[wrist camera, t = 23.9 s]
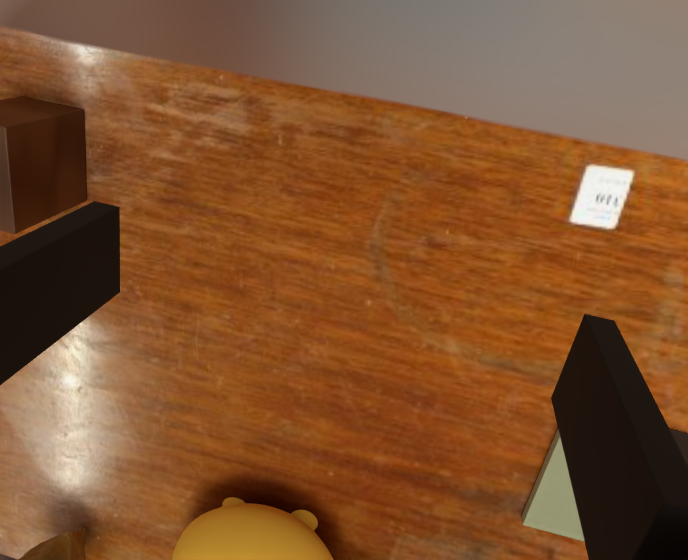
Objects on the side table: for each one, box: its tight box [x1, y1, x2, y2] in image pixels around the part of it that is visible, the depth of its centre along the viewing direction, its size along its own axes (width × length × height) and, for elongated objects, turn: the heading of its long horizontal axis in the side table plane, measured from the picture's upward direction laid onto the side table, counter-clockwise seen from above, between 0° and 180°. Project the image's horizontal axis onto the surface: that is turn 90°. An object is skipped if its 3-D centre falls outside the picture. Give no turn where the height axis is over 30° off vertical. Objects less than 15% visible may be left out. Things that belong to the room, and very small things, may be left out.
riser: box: [0, 96, 87, 234], centre depth 40 cm, size 7×5×8 cm
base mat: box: [522, 429, 585, 541], centre depth 44 cm, size 12×18×4 cm, turn 80°
